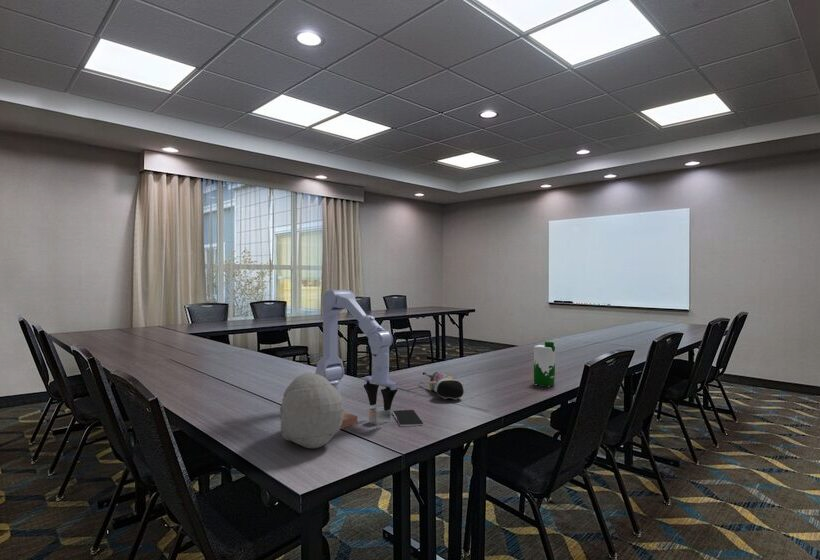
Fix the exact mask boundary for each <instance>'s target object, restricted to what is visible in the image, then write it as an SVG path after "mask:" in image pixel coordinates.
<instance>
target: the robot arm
mask: <svg viewBox="0 0 820 560" xmlns="http://www.w3.org/2000/svg"><path fill="white" fill-rule="evenodd" d="M345 309H346V311H348V312H349V313H350V314H351V316H352V317H354V318H355V319H356V320H357V321H358V328H360V330H361V331H362V332H363V334H364V335H365V336H366V337H367V339H368V341H367V342H368V345H369V347H370V352H371V376H370V375H368V376H367V375H365V376H364V383H365V384H363V388H364V390H365V392H366V394H367V398H368V402H369V406H375V405H376V404H377V399H378V398H377V397H378V390H379V387H382V389H380V392H381V396H382V400H383V406H384V410H385V411H386V410H390V411H391V407H392V403H393V400H394V399H395V398H394V397H395V396H396V394H397V392H398V386H397V382H394V381H393V380H391V379H390V347H391V346H392V344H393V342H394V338H393V335H392V333H391V331H390V330H388V329H385V328H383V327H382V326H381V325H380V324H379V323H378V322H377V320H375V317H374V316H372V315H367V314H366V312H365V310H363V308H362V307H361V306H360V304H359V303H358V301H357V300H356V295H355V294H354V293H353V291H352V290H350V289H336V290H335V289H333V290H332V289H328V290H327V291H326V292H325V293H324V294H323V295H322V330H323V331H322V341H323V342H322V350H323V351H322V357H321V358H320V359H319V360H318V361H317V363H316V368H315V374H318V375H321V376H323V377H324V378H326V379H327V380H328V381H329V382H330V383H331V385H332V386H333V387H334V388H335V389H336V390H337V391H338V393H339V394H340V382H342V379H343V378H344V376H345V368H344V365H343V360H342V358H340V357H339V349H338V348H339V344H338V343H339V335H338V334H339V333H338V331H339V329H338V328H339V327H338V323H339V322H338V319H339V317H338V316H339V314H340V313H341V312H342V311H344V310H345Z"/></svg>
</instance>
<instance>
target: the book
mask: <svg viewBox="0 0 820 560" xmlns="http://www.w3.org/2000/svg"><path fill="white" fill-rule="evenodd" d="M355 424H356V425H358V415H355V414H352V413H349V412H347V411H344V413H343V421H342V425H341V427H340V429H339V430H342V429H345V428H344V427H346V428H349V427H352V426H355ZM351 425H352V426H351ZM348 426H349V427H348ZM341 428H342V429H341Z"/></svg>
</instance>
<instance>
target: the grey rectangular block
mask: <svg viewBox="0 0 820 560" xmlns="http://www.w3.org/2000/svg"><path fill="white" fill-rule="evenodd" d="M389 421H390V422H391V409H390V410H386V411H385V410H384V405H381V406H377V407H373V408H369V410H368V423H369V422H370V424H372V423H373V424H372V425H374V424H375V426H379V425H378V424H380V425H383V424H386V423H385V422H387V423H389ZM382 423H383V424H382Z"/></svg>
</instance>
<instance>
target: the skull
mask: <svg viewBox="0 0 820 560" xmlns="http://www.w3.org/2000/svg"><path fill="white" fill-rule="evenodd" d="M281 400H282V402H281V404H280V406H279V411H280V414H281V415H280V430H281V435H282V438H283V439H284V440H286V441H290V442H292V443H295V444H298V445H300V446H301V447H304V448H307V449H318V448H320V447H323V446H325V445H326V444H327V443H329V441H330V440H331V439H333V437H334V436H335V435H336V434H337V433H338V432H339V430H341V429H340V427H341V425H342V421H343V413H344V412H345V404H344V400H343V397H342V396H341V394H340V392H339V393H338V391H337V390H336V389H335V388H334V387H333V386H332V385H331V383H330V382H329V381H328V380H327V379H326V378H324V377H323V376H321V375H318V374H315V373H313V372H304V373H302V374H300V375H299V376H297V377H296V378H294V379H293V381H291V383H290V384H289V385H288V386H287V387H286V389H285V391H284V393H283V397H282V399H281Z"/></svg>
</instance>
